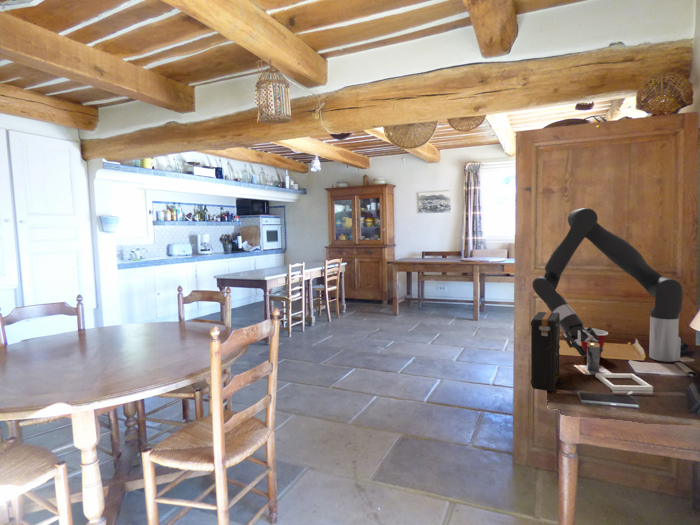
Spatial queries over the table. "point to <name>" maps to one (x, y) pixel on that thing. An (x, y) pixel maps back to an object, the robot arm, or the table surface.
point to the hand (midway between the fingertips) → (593, 354)
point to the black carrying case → (545, 350)
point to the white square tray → (624, 387)
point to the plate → (584, 370)
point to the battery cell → (593, 356)
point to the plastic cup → (599, 333)
